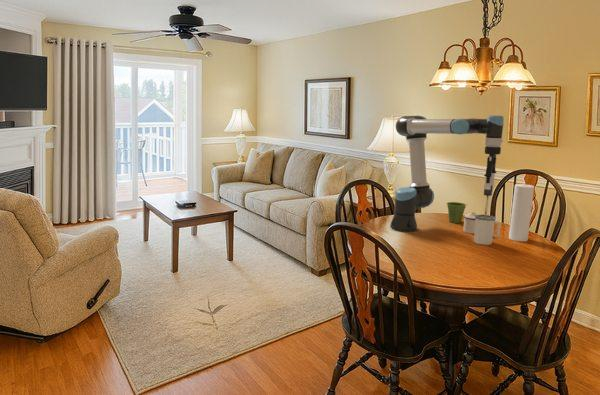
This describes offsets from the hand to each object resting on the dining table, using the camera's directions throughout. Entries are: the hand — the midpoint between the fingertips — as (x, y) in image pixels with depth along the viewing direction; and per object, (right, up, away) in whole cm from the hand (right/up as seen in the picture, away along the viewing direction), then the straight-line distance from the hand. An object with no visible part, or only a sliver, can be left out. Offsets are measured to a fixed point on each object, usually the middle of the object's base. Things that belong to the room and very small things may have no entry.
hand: (489, 187), depth 240 cm
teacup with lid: (0, -25, +27) cm, 37 cm away
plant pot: (-2, -20, +48) cm, 52 cm away
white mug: (0, -29, +6) cm, 30 cm away
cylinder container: (+21, -28, +14) cm, 38 cm away
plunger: (-1, -18, +4) cm, 19 cm away
